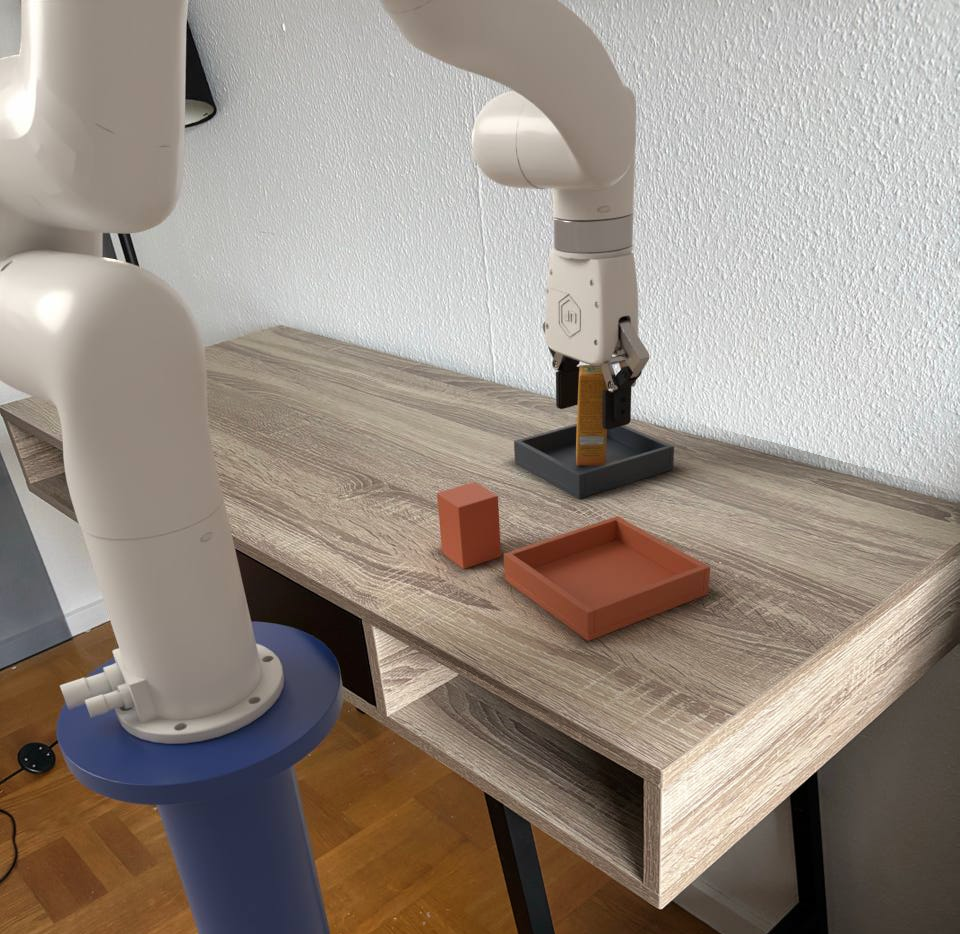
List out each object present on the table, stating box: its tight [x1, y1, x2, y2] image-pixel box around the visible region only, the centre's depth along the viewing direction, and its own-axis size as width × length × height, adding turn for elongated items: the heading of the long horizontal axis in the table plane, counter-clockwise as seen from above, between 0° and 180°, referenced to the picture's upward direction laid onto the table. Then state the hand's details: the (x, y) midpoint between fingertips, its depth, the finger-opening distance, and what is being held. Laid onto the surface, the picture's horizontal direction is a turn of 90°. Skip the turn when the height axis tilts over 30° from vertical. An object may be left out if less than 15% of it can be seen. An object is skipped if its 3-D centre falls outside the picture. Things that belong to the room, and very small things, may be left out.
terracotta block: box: [436, 481, 502, 570], centre depth 85 cm, size 4×4×6 cm
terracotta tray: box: [503, 515, 711, 642], centre depth 79 cm, size 12×12×3 cm
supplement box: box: [576, 364, 607, 467], centre depth 99 cm, size 3×3×10 cm
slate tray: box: [513, 423, 675, 500], centre depth 101 cm, size 12×12×3 cm
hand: (592, 414), depth 99 cm, fingers open, 7 cm apart
